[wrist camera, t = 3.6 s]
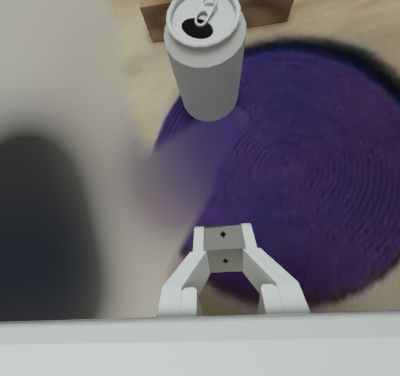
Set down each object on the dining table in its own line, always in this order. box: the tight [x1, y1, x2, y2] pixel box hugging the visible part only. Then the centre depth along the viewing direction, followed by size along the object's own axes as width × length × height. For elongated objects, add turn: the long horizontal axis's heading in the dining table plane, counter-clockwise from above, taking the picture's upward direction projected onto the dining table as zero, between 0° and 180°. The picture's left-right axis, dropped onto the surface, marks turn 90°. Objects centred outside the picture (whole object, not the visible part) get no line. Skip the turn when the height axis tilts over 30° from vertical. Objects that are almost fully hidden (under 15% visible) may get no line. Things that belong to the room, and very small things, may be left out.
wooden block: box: [140, 0, 294, 42], centre depth 27 cm, size 20×4×5 cm, turn 94°
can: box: [164, 0, 246, 122], centre depth 22 cm, size 8×8×12 cm
